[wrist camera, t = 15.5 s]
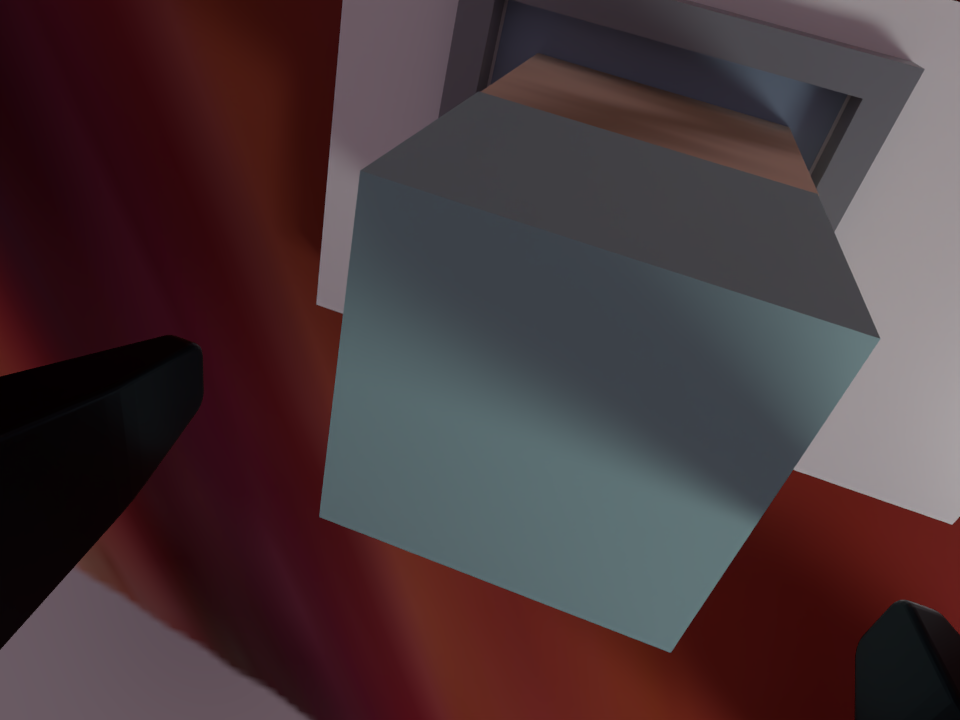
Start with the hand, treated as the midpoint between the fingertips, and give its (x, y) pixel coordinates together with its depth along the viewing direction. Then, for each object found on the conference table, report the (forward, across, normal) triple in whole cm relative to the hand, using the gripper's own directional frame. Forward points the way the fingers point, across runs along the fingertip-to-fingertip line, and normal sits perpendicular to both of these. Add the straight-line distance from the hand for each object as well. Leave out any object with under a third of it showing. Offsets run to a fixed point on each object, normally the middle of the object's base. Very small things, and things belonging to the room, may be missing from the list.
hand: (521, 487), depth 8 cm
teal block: (+6, 0, 0) cm, 6 cm away
